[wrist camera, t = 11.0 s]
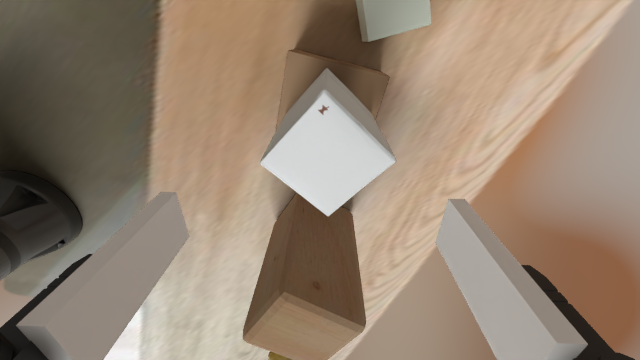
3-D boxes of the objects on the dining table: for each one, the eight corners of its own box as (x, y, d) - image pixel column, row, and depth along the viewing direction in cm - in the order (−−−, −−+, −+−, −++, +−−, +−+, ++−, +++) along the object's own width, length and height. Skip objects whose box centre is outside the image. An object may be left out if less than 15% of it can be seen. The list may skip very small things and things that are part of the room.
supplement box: (282, 116, 30) (254, 162, 19) (327, 65, 27) (325, 84, 16) (328, 157, 32) (327, 220, 21) (373, 114, 29) (400, 161, 18)
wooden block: (302, 181, 40) (282, 291, 23) (354, 210, 43) (371, 330, 25) (273, 223, 45) (236, 343, 27) (321, 248, 47) (316, 373, 29)
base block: (281, 132, 37) (273, 148, 32) (294, 48, 32) (287, 50, 26) (355, 149, 38) (359, 167, 33) (380, 70, 33) (389, 76, 27)
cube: (361, 41, 31) (368, 41, 26) (352, -20, 28) (357, -33, 23) (413, 26, 30) (431, 24, 25) (408, -37, 27) (427, -56, 22)
